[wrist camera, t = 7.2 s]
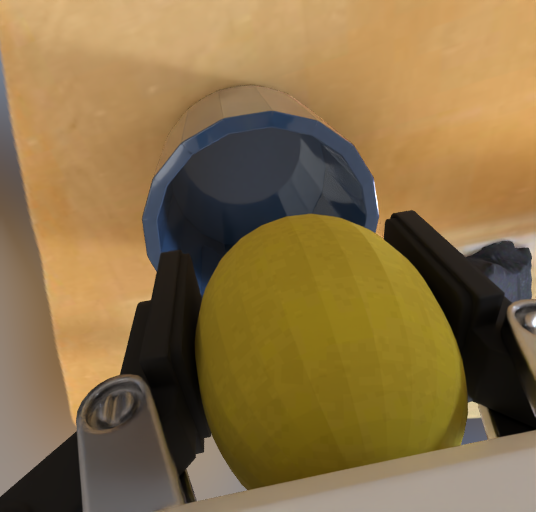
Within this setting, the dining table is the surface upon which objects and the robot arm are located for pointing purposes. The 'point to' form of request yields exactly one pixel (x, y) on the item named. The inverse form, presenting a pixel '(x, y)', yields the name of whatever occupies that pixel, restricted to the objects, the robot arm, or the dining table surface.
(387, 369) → the lemon
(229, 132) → the pot
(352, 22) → the dining table surface
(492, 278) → the dark slate chunk
